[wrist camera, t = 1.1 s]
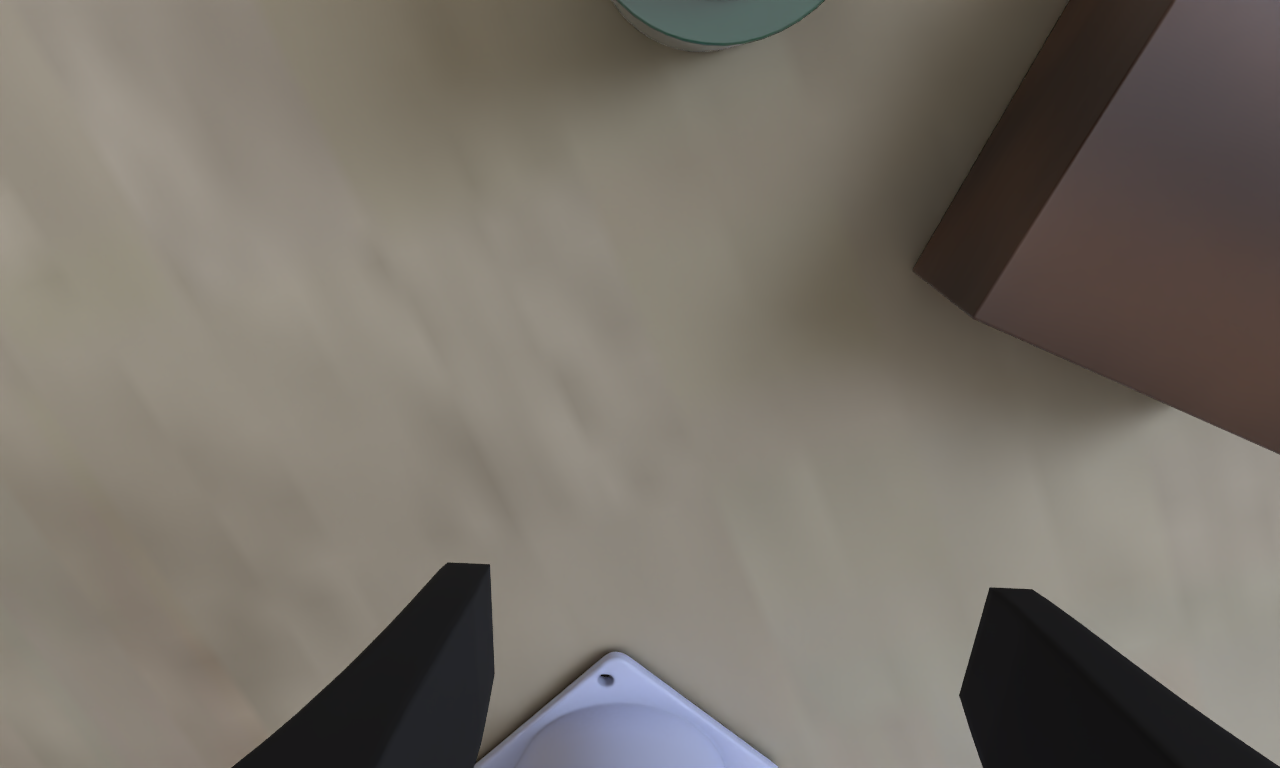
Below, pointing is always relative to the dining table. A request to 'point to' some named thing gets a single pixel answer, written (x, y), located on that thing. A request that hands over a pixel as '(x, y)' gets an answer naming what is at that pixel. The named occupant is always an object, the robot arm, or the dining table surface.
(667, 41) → the bottle
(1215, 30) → the block
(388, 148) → the dining table surface
